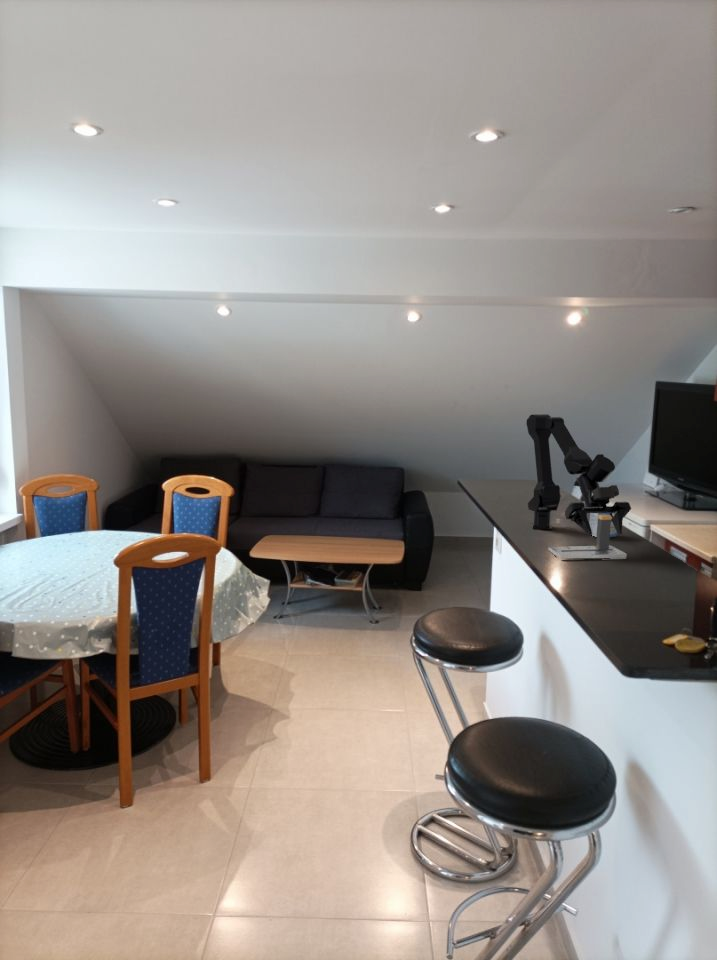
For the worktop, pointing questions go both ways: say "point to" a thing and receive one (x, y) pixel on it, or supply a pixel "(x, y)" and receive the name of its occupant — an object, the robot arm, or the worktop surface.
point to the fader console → (587, 552)
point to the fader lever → (603, 532)
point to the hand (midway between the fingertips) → (605, 534)
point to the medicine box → (594, 524)
